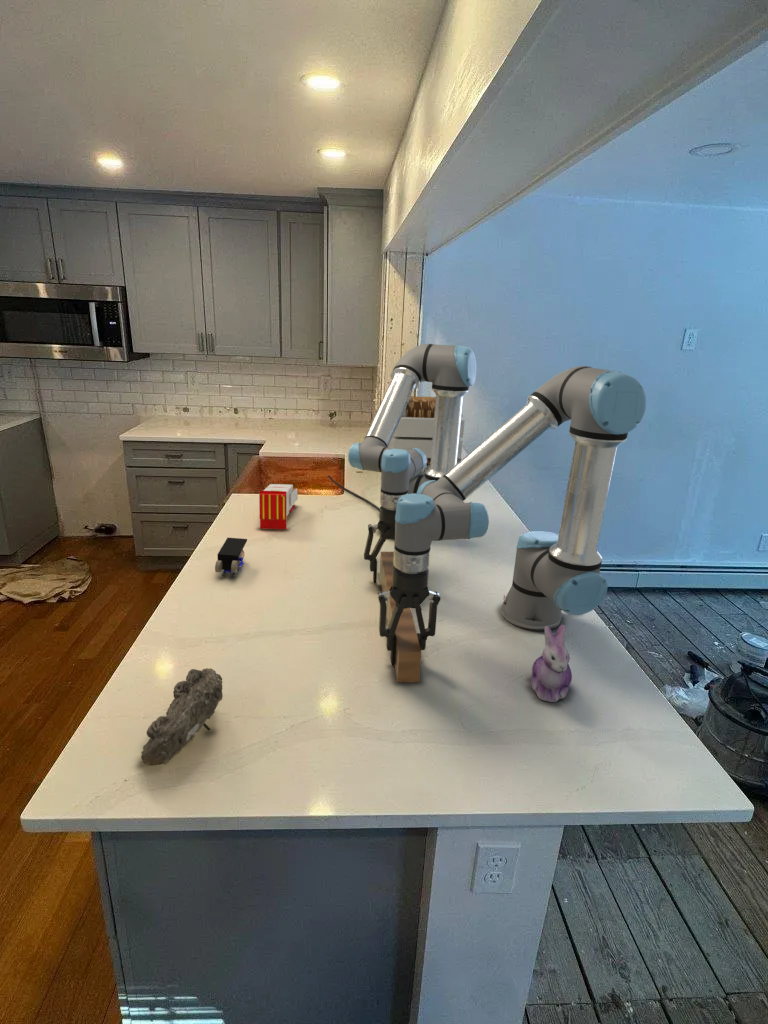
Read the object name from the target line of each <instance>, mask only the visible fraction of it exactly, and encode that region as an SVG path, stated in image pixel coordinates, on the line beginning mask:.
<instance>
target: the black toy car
mask: <svg viewBox="0 0 768 1024" xmlns="http://www.w3.org/2000/svg"><path fill="white" fill-rule="evenodd" d="M247 542H248V538H240V537H226V539H225V541H224V543H223V544H222V546H221V547H220V549H219V551H218V552H217V560H216V562H215V564H214V572H215V573H221V577H222V578H224V577H225V576H226V574H227V573H230V574H231V573H232V574H231V578H234V577H235V575H236V573H237V572H239V571H240V567H242V566H243V565H244V564H245V562H244V558H245V551H244V547H245V546H246V544H247Z"/></svg>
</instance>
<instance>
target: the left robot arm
mask: <svg viewBox="0 0 768 1024" xmlns="http://www.w3.org/2000/svg"><path fill="white" fill-rule="evenodd" d="M477 368H478V367H477V358H476V355H475V353H474V350H473V349H472V348H471V347H469V346H462V345H451V344H450V345H449V344H436V343H435V344H434V343H433V344H432V343H421V344H418V345H416V346H413V348H411V349H409V350H408V351H407V352H405V354H403V355H402V356H401V357H400V358H399V360H398V361H397V362H396V363H395V364H394V367H393V369H392V371H391V374H390V378H391V381H390V383H389V385H388V387H387V389H386V391H385V394H384V396H383V398H382V400H381V402H380V404H379V407H378V409H377V411H376V412H375V415H374V417H373V419H372V422H371V424H370V426H369V428H368V430H367V432H366V434H365V437H364V438H363V441H362V442H354V443H353V444H352V445H351V446H350V447H349V450H348V455H347V459H348V463H349V466H351V467H352V468H353V469H357V470H361V471H368V472H374V473H375V472H376V473H380V492H379V493H380V496H379V505H380V506H379V507H378V506H377V505H376V504H374V503H373V502H371V501H369V500H368V499H366V498H364V497H362V496H361V495H359V494H357V493H355V492H353V491H351V490H349V489H348V488H347V487H344V486H342V484H339V483H338V482H336V481H335V480H334V479H333V477H331V475H327V476H328V478H329V479H330V480H331V482H333V484H335V485H336V486H337V487H339V488H341V489H342V490H343V491H346V492H348V493H349V494H351V495H353V496H355V497H357V498H359V499H360V500H362V501H364V502H366V503H367V504H369V505H371V506H372V507H373V508H375V509H376V510H378V512H379V519H378V523H377V524H371V523H369V524H368V525H367V530H368V533H367V539H366V542H365V548H364V552H363V560H364V561H369V572H370V573H371V572H372V577H373V578H372V581H373V584H377V581H378V580H377V578H378V558H377V557H378V555H379V553H380V552H381V550H382V548H383V546H384V544H385V543H386V541H387V540H395V516H396V508H397V502H398V500H399V498H400V497H401V496H403V495H406V494H417V490H418V488H419V487H420V486H421V485H422V484H423V483H424V482H427V481H430V480H435V481H437V480H439V479H440V478H441V477H442V476H443V475H445V474H446V473H447V472H448V471H449V470H450V469H452V468H453V467H454V466H455V465H456V464H457V453H458V443H459V433H460V422H461V418H462V417H461V412H462V413H463V411H462V410H463V400H464V396H465V395H466V394H467V393H468V392H469V389H470V387H472V386H474V385H475V383H476V378H477V373H478V372H477ZM423 382H427V383H431V390H432V391H433V393H434V394H435V397H436V402H435V414H434V426H433V438H432V451H431V463H430V466H429V468H427V466H426V465H427V458H426V455H425V454H424V452H423V451H422V450H420V449H417V448H411V449H408V450H402V449H395V448H389V447H388V446H389V444H390V441H391V439H392V437H393V435H394V433H395V430H396V428H397V426H398V424H399V421H400V419H401V417H402V415H403V413H404V410H405V408H406V406H407V404H408V401H409V399H410V397H411V396H413V393H414V391H415V390H417V389H418V388H419V387H420V384H421V383H423ZM426 468H427V469H426ZM425 469H426V470H425ZM424 470H425V471H424ZM423 471H424V474H422V472H423ZM377 530H378V533H379V534H380V535H379V538H378V540H377V542H376V544H375V546H374V547H373V550H372V552H371V549H372V545H373V540H374V534H375V533H376V532H377ZM370 553H371V554H370Z"/></svg>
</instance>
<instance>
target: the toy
mask: <svg viewBox="0 0 768 1024" xmlns="http://www.w3.org/2000/svg"><path fill="white" fill-rule="evenodd" d="M258 495H259V497H258V500H259V501H258V503H259V529H260V530H287V517H288V516H289V514H290V513H292V512H293V510H294V509H295V507H296V504H295V503H296V502H297V501H299V500H298V498H299V496H298V488H295V489H294V484H290V483H289V484H288V483H287V484H284V483H269V485H268V486H266V487H265V489H263V490H259V494H258Z"/></svg>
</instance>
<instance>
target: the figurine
mask: <svg viewBox="0 0 768 1024" xmlns="http://www.w3.org/2000/svg"><path fill="white" fill-rule="evenodd" d="M543 631H544V648H543V650H542V655H541V656H539V657H538V658H536V659H535V660H534V661H533V664H532V668H531V676H530V685H531V690H533V691H534V693H536V696H537V697H538V699H540V700H542V701H544V702H549V703H557V702H558V701H559V700H563V699H565V698H566V696H567V694H568V692H569V688H570V686H571V684H572V681H573V675H572V674H573V673H572V670H571V667H570V664H569V663H570V660H571V657H570V652H569V649H568V647H567V645H566V643H565V642H566V641H565V637H566V626H565V625H564V624H560V625H559V626H558V628H557V631H556V633H555V634H554V633H553V631H552V629H550V628H549V627H548V626H545V627H544V630H543Z"/></svg>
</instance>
